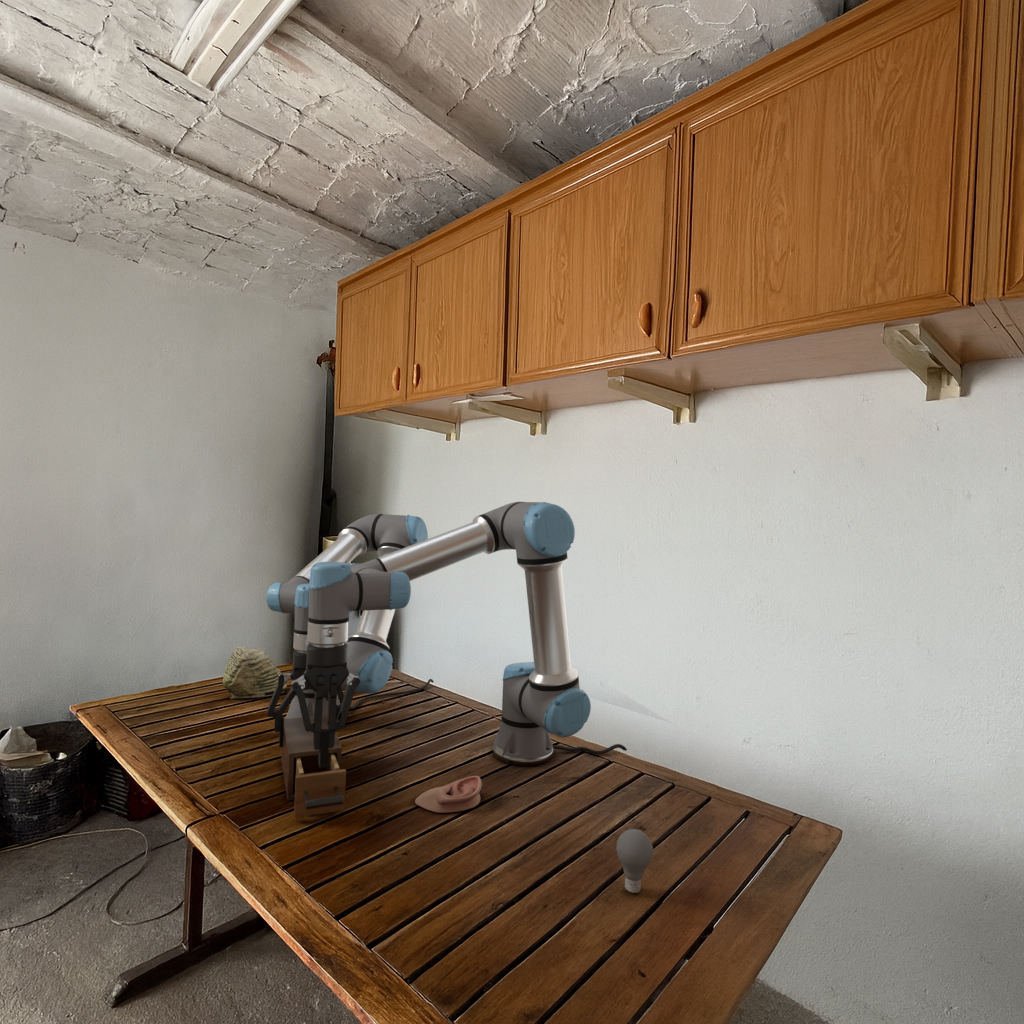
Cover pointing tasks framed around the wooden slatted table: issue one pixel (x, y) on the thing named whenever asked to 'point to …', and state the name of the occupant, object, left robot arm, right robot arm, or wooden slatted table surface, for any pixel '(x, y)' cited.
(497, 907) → the wooden slatted table surface
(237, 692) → the fossil
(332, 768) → the drawer
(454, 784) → the anatomical model
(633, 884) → the light bulb
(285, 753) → the cabinet
